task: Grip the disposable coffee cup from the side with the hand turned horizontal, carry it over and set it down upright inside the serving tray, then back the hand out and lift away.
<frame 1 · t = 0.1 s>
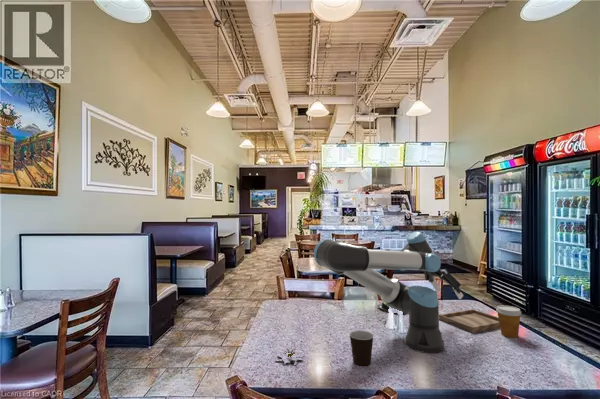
hand: (449, 294, 152), 15 cm above the table, tool tilted 35°, fingers open, 13 cm apart
disposable coffee cup: (509, 335, 139), on the table
lily flower: (290, 360, 118), on the table
salad plate: (394, 310, 178), on the table
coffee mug: (363, 361, 116), on the table
serving tray: (472, 322, 155), on the table
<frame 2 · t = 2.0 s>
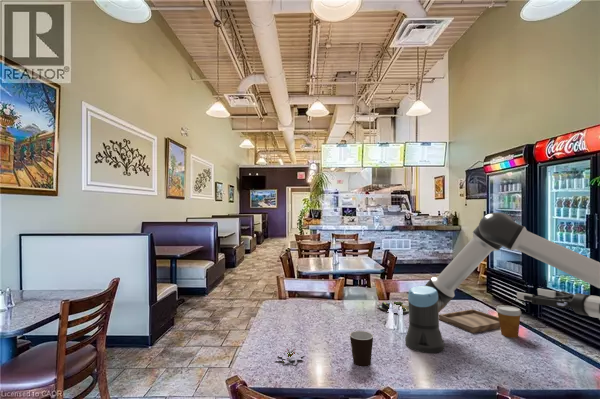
hand: (527, 293, 131), 21 cm above the table, tool horizontal, fingers open, 13 cm apart
nothing on the table moved.
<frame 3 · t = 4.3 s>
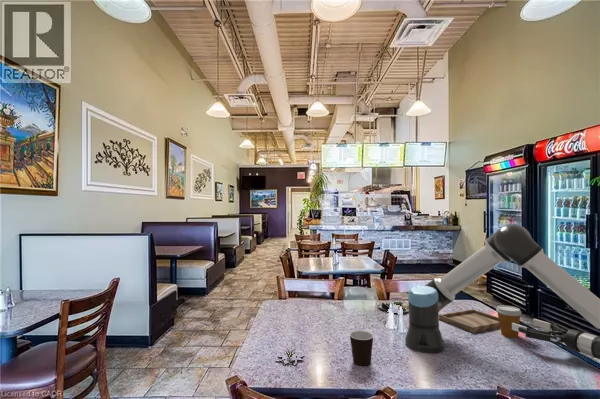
hand: (523, 323, 133), 7 cm above the table, tool horizontal, fingers open, 13 cm apart
nothing on the table moved.
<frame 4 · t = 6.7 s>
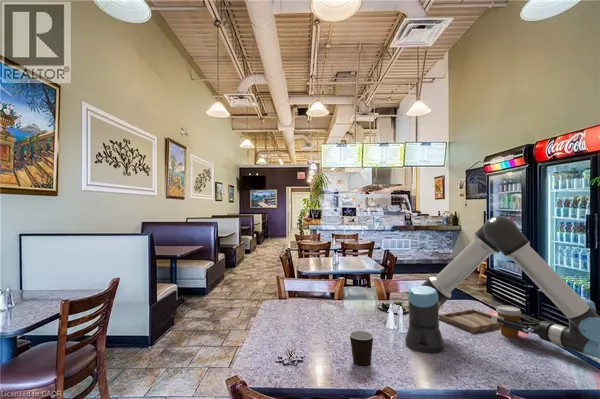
hand: (498, 316, 143), 7 cm above the table, tool horizontal, fingers closed on disposable coffee cup, 8 cm apart
disposable coffee cup: (509, 335, 139), on the table, touching gripper
everything else where it was.
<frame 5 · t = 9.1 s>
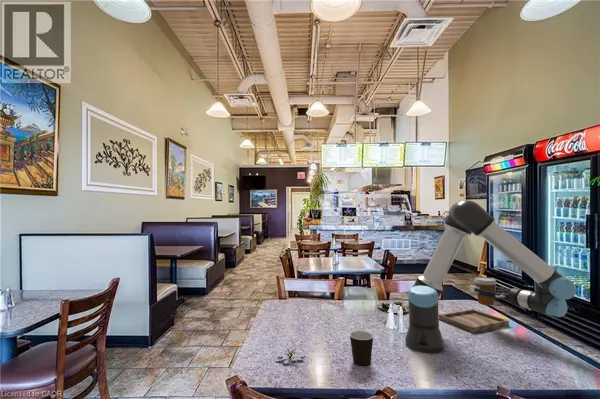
hand: (476, 287, 155), 18 cm above the table, tool horizontal, fingers closed on disposable coffee cup, 8 cm apart
disposable coffee cup: (486, 304, 151), point 11 cm above the table, touching gripper
everything else where it was.
when the fingers open (9 cm above the table, at t = 11.6 s): disposable coffee cup drops 1 cm, resting on serving tray.
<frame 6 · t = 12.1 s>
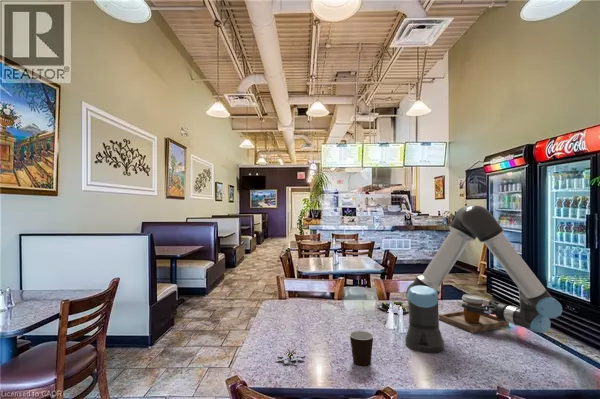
hand: (467, 301, 159), 9 cm above the table, tool horizontal, fingers open, 13 cm apart
disposable coffee cup: (471, 321, 154), point 1 cm above the table, touching gripper, serving tray
everything else where it was.
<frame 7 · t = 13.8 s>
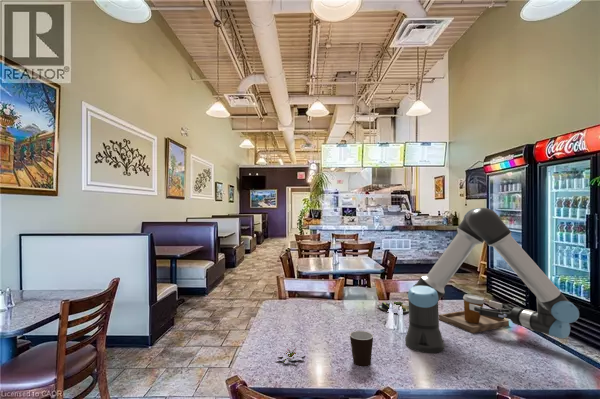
hand: (479, 304, 153), 10 cm above the table, tool horizontal, fingers open, 13 cm apart
nothing on the table moved.
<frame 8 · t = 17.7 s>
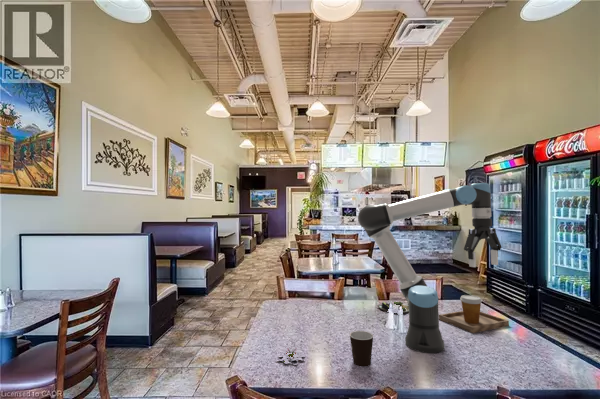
hand: (483, 265, 137), 32 cm above the table, tool pointing down, fingers open, 13 cm apart
disposable coffee cup: (471, 322, 154), point 1 cm above the table, touching serving tray
everything else where it was.
at the end: disposable coffee cup inside the target area on the serving tray (2.0 cm from its centre), point 0.8 cm above the serving tray's base; disposable coffee cup tilted 0°; the gripper is holding nothing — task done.
